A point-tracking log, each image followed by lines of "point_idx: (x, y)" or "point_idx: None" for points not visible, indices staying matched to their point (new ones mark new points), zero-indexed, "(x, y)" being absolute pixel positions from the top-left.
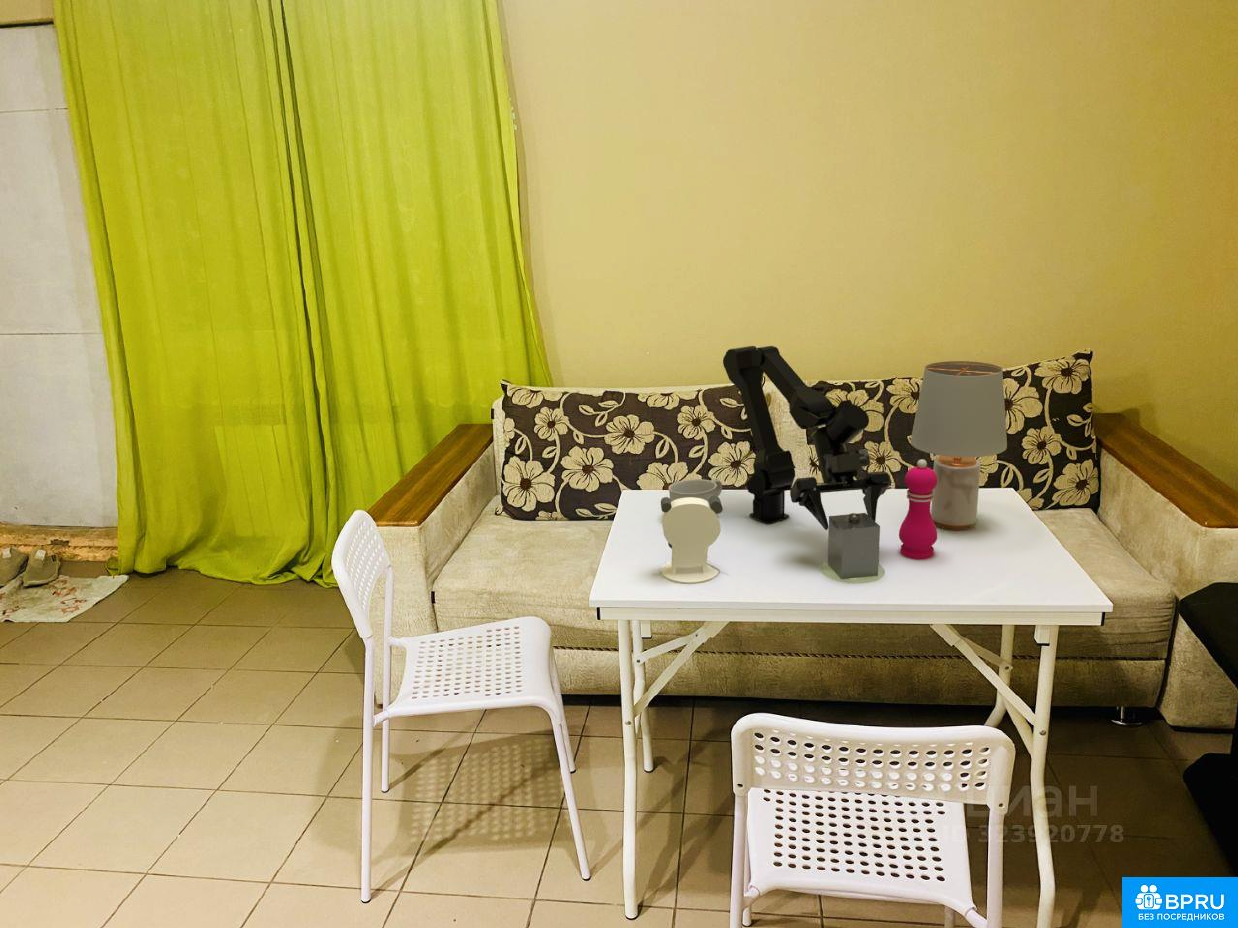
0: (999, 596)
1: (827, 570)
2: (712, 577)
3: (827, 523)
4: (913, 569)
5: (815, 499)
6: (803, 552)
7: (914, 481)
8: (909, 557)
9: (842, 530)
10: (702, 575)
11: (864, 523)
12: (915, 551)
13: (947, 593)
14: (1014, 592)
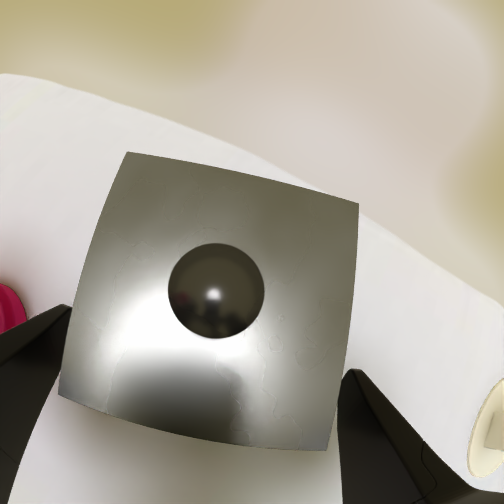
0: (44, 99)
1: None
2: (494, 390)
3: (360, 383)
4: (50, 259)
5: (471, 496)
6: (268, 500)
7: None
8: (20, 311)
9: (356, 209)
10: (499, 401)
11: (177, 225)
12: (1, 298)
13: (93, 127)
14: (18, 106)
